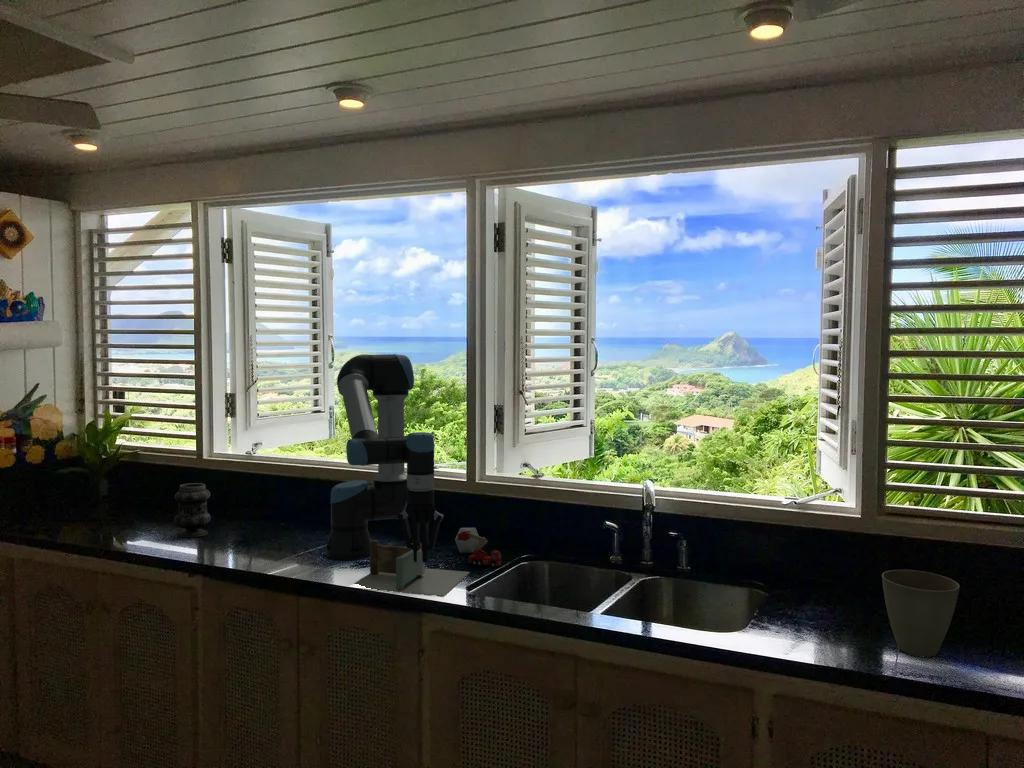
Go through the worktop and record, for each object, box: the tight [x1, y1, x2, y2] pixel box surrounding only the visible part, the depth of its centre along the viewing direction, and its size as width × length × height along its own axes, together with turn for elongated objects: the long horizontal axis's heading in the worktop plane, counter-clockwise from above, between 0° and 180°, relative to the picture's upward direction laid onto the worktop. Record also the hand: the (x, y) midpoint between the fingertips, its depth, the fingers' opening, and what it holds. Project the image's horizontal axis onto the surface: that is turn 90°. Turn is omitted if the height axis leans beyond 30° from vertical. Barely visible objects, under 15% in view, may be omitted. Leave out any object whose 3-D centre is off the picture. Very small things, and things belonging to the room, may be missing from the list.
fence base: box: [369, 539, 422, 578], centre depth 214 cm, size 16×2×10 cm, turn 75°
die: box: [454, 527, 480, 554], centre depth 241 cm, size 8×9×10 cm
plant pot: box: [881, 569, 961, 658], centre depth 161 cm, size 15×15×16 cm
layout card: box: [353, 567, 471, 597], centre depth 210 cm, size 28×22×1 cm
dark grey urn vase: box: [173, 482, 211, 539], centre depth 262 cm, size 12×12×18 cm
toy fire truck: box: [457, 531, 502, 568], centre depth 227 cm, size 3×14×10 cm, turn 71°
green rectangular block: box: [396, 550, 417, 589], centre depth 206 cm, size 10×2×8 cm, turn 162°
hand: (420, 573), depth 203 cm, fingers closed
